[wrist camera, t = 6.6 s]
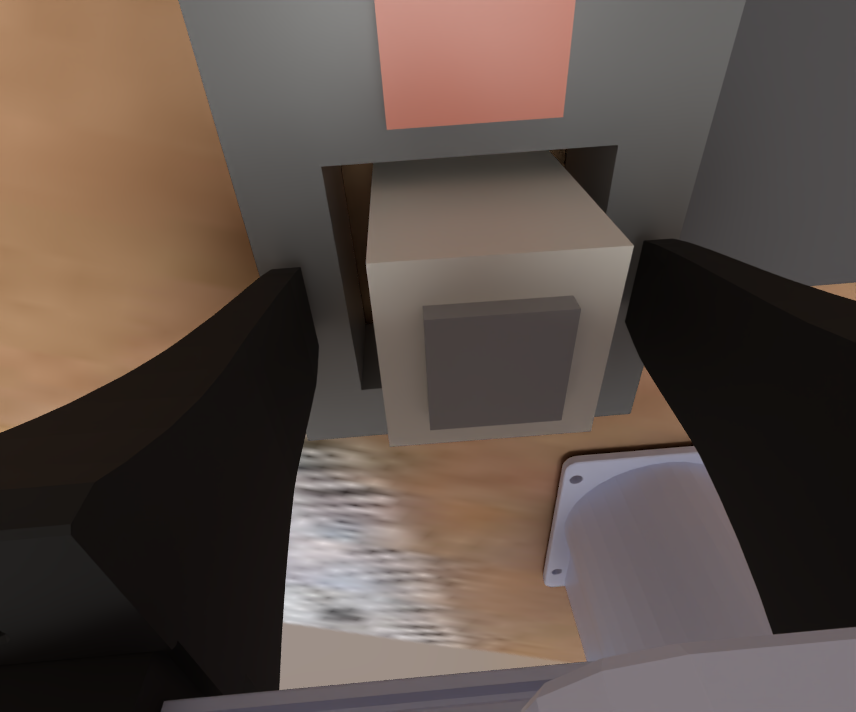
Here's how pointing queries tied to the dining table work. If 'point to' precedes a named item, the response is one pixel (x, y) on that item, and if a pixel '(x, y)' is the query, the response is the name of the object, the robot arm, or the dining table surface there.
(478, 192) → the plug
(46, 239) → the dining table surface
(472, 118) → the strip
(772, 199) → the mat
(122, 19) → the dining table surface
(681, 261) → the robot arm
